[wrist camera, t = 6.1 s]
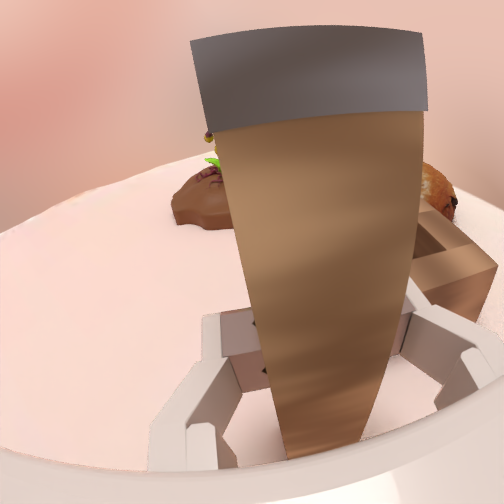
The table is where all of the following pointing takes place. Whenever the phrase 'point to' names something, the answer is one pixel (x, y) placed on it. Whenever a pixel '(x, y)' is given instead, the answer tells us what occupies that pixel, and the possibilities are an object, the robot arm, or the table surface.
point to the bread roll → (438, 191)
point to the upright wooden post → (320, 206)
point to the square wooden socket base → (450, 265)
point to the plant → (204, 198)
